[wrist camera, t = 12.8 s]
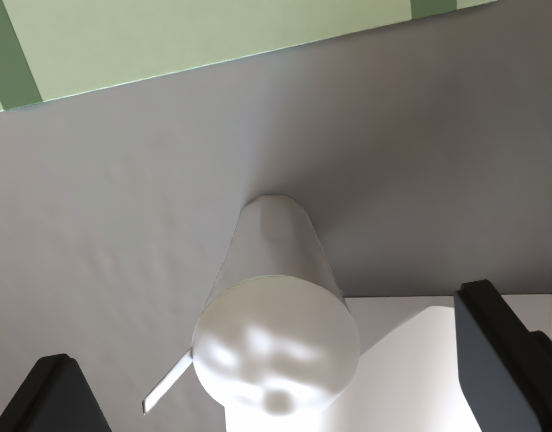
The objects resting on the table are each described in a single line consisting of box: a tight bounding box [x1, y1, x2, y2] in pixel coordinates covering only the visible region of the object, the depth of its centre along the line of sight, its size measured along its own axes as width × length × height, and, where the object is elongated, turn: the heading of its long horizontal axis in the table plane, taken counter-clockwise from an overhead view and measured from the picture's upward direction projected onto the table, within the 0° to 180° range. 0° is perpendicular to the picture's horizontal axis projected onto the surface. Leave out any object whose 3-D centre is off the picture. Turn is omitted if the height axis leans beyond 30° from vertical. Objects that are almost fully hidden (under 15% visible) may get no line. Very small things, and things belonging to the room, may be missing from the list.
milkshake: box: [142, 195, 360, 421], centre depth 15 cm, size 5×5×10 cm
